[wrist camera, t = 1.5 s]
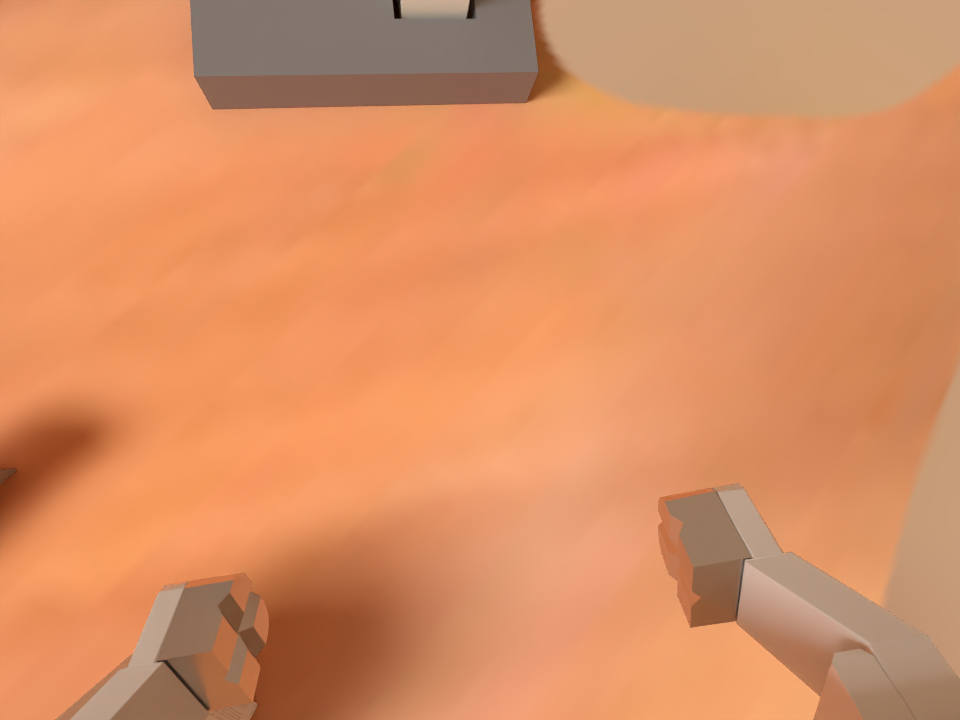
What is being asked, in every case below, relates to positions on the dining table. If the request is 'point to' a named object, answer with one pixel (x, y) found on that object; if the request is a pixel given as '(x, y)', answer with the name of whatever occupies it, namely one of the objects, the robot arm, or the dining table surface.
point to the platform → (6, 474)
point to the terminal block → (359, 54)
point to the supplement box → (235, 716)
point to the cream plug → (432, 9)
